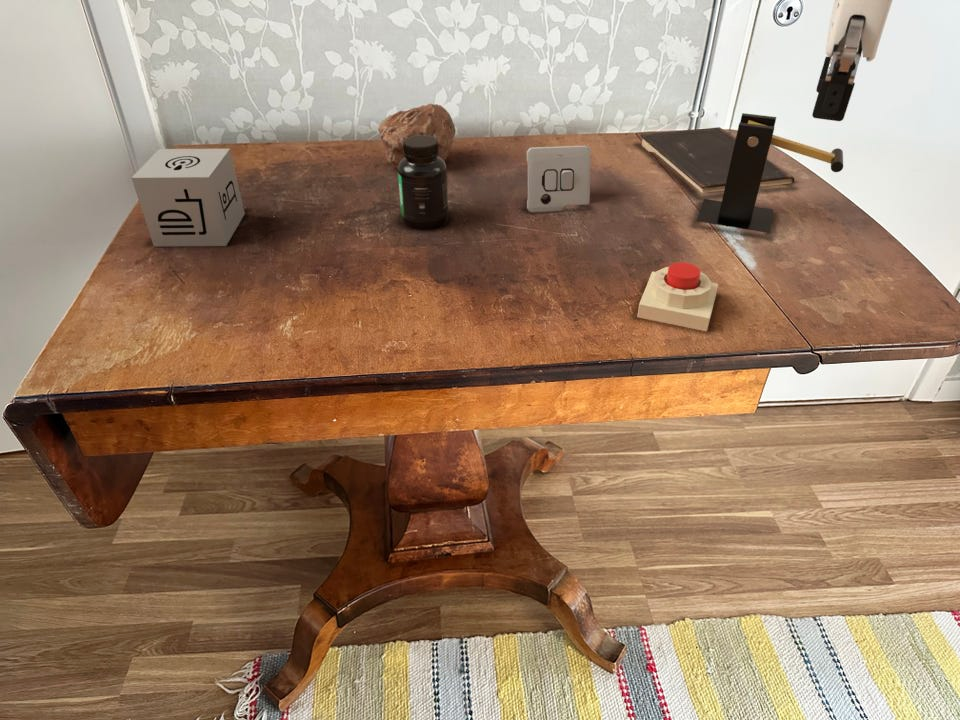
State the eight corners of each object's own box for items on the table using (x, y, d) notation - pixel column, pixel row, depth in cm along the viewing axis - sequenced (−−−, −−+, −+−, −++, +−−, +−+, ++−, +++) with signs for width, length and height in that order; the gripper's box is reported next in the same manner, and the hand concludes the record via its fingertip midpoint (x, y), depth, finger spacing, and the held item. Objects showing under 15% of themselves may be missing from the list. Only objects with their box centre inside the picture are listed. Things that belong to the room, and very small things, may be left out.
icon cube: (226, 246, 97) (208, 177, 91) (153, 246, 97) (131, 177, 91) (244, 213, 105) (230, 148, 99) (178, 214, 105) (158, 149, 99)
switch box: (715, 298, 86) (721, 270, 83) (706, 334, 80) (713, 304, 78) (649, 286, 88) (654, 258, 86) (636, 319, 82) (641, 290, 80)
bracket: (771, 216, 104) (799, 115, 95) (767, 240, 98) (796, 135, 89) (702, 205, 107) (722, 107, 97) (694, 228, 101) (715, 125, 92)
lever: (837, 163, 95) (846, 146, 93) (837, 177, 91) (847, 160, 89) (742, 133, 97) (749, 116, 95) (738, 145, 93) (746, 128, 92)
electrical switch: (527, 214, 104) (529, 152, 99) (522, 203, 109) (524, 142, 104) (589, 212, 105) (594, 149, 100) (582, 200, 109) (586, 140, 104)
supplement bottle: (395, 229, 101) (388, 148, 93) (410, 209, 106) (404, 130, 99) (441, 234, 99) (437, 152, 92) (453, 213, 105) (451, 134, 97)
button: (699, 278, 83) (702, 265, 82) (695, 293, 80) (698, 280, 79) (668, 273, 84) (671, 260, 83) (663, 287, 81) (665, 274, 80)
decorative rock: (448, 148, 125) (446, 91, 119) (465, 172, 117) (464, 112, 111) (375, 157, 122) (370, 98, 116) (387, 182, 114) (382, 120, 108)
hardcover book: (699, 200, 108) (702, 186, 107) (638, 147, 126) (640, 134, 124) (792, 190, 111) (796, 176, 109) (720, 139, 129) (722, 126, 127)
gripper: (929, -53, 63) (864, 135, 73) (917, -75, 76) (863, 88, 86) (839, -59, 65) (788, 125, 76) (842, -79, 78) (798, 81, 88)
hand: (828, 105), depth 81 cm, fingers open, 9 cm apart
